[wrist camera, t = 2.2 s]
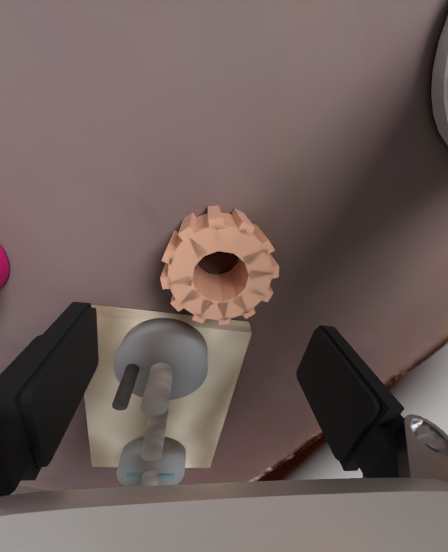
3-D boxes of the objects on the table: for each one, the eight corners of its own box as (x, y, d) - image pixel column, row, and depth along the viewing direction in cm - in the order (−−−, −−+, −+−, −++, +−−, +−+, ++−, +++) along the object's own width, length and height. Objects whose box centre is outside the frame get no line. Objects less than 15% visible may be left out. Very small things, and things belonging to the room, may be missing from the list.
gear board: (250, 316, 21) (268, 377, 15) (208, 456, 31) (209, 526, 25) (83, 297, 18) (28, 359, 13) (97, 455, 28) (70, 530, 23)
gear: (275, 215, 17) (294, 230, 13) (251, 299, 20) (261, 329, 16) (174, 197, 16) (165, 207, 12) (165, 288, 19) (156, 318, 15)
